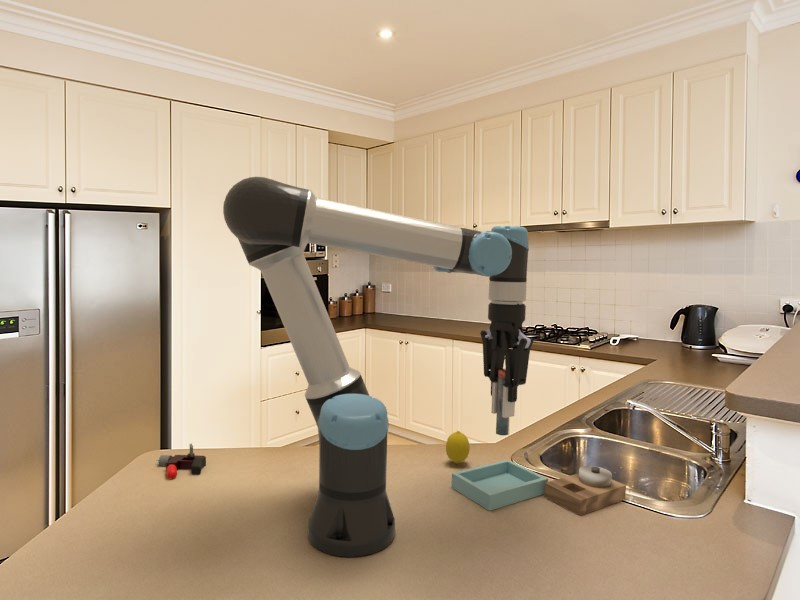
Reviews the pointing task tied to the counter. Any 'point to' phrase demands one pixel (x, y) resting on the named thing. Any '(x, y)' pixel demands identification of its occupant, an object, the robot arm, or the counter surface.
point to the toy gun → (182, 463)
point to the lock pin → (501, 405)
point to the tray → (498, 484)
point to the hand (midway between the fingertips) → (502, 414)
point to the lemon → (457, 447)
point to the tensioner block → (585, 490)
